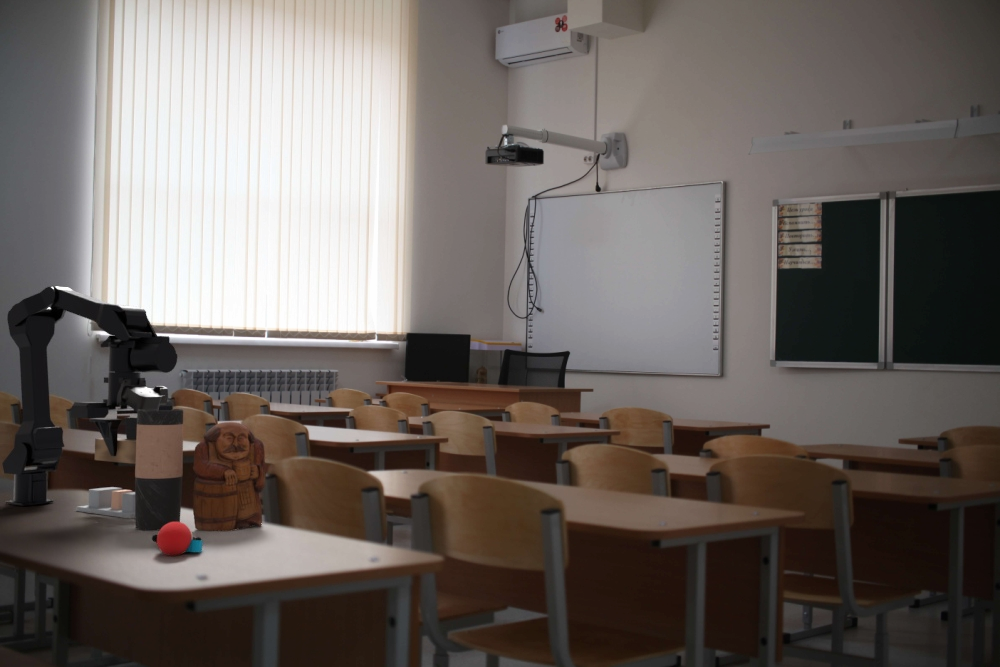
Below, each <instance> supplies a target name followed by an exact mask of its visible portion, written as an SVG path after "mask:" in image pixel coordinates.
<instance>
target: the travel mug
mask: <svg viewBox="0 0 1000 667" xmlns="http://www.w3.org/2000/svg"><path fill="white" fill-rule="evenodd" d="M183 453H184V409H182V408H173V409H172V410H160V411H158V410H157V409H139V410H138V411H137V436H136V464H134V466H135V468H134V477H135V478H134V492H135V518H134V519H135V521H134V522H135V529H136V530H139V531H153V532H154V531H155V532H157V531H158V532H159V531H160V529H161V528H162V527H163V526H164V525H166V524H168V523H170V522H181V512H182V511H181V507H182V491H183V472H184V471H183V468H184V466H183V465H184V464H183V460H184V459H183V458H184V457H183V455H184V454H183Z"/></svg>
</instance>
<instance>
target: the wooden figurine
mask: <svg viewBox="0 0 1000 667" xmlns="http://www.w3.org/2000/svg"><path fill="white" fill-rule="evenodd" d="M202 438H203V439H202V440H201V441H200V442H199V443H198V444H197V445H195V448H194V453H193V454H194V455H193V466H192V469H193V471H194V474H195V475H196V476H197V477H195V479H194V484H193V490H192V492H193V493H192V513H193V519H194V526H195V529H196V530H197V531H204V532H231V530H232V531H235V529H237V530H243V529H251V527H260V526H261V525H263V517H262V516H263V514H262V513H263V512H262V510H263V509H262V501H261V496H260V494H261V492H263V490H264V489H265V487H266V469H265V467H266V460H265V459H266V457H265V456H266V454H265V446H264V442H263V441H262V440H261V439H260V438H257V437H255V434H254V433H253V432H252V431H251V429H250V428H249V427H248V426H246V425H244V424H242V423H240V422H234V421H226V422H225V421H224V422H220V423H216V424H214V425H213V426H212V427H210V429H208V431H206V432H205V434H204V435H203V437H202ZM261 523H262V524H261Z"/></svg>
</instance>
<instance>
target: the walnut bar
mask: <svg viewBox="0 0 1000 667" xmlns="http://www.w3.org/2000/svg"><path fill="white" fill-rule="evenodd" d="M94 461H103V462H113V463H120V464H121V463H122V464H134V465H135V464H136V440H133V439H127V438H119V437H117V453H116V456H111V455H110V453H109V450H108V448H107V446H106V444H105V442H104V439H103V437H101V438H95V439H94Z"/></svg>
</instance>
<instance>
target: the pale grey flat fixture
mask: <svg viewBox="0 0 1000 667" xmlns="http://www.w3.org/2000/svg"><path fill="white" fill-rule="evenodd" d="M75 510H76V512H81V513H82V512H83V513H90V514H96V515H101V516H102V515H103V516H110V517H116V518H125V519H135V491H133V490H131V489H123V487H116V486H115V487H114V486H110V487H99V488H90V489H88V504H87V505H80V506H76V509H75Z"/></svg>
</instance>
